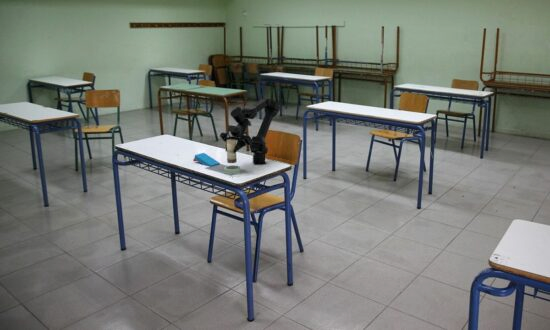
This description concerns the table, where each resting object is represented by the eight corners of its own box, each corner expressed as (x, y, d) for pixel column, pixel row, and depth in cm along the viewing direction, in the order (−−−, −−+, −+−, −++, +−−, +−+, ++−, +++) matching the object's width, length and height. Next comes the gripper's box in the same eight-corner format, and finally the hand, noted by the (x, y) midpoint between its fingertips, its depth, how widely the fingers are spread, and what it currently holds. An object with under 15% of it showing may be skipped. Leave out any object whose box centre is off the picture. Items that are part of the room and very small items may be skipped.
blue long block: (218, 173, 274) (198, 160, 284) (220, 163, 271) (199, 150, 281) (209, 176, 269) (189, 162, 279) (210, 165, 266) (190, 152, 276)
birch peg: (232, 160, 258) (231, 138, 255) (238, 161, 255) (237, 140, 251) (225, 162, 254) (224, 140, 251) (231, 163, 251) (230, 141, 248)
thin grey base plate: (204, 170, 264) (204, 163, 263) (220, 165, 273) (220, 159, 272) (231, 177, 250) (230, 171, 249) (247, 173, 258) (247, 166, 257)
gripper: (221, 117, 256) (208, 141, 250) (249, 120, 247) (237, 145, 241) (230, 129, 265) (218, 152, 259) (258, 132, 255) (246, 157, 249)
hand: (230, 151), depth 252 cm, fingers closed on birch peg, 5 cm apart
